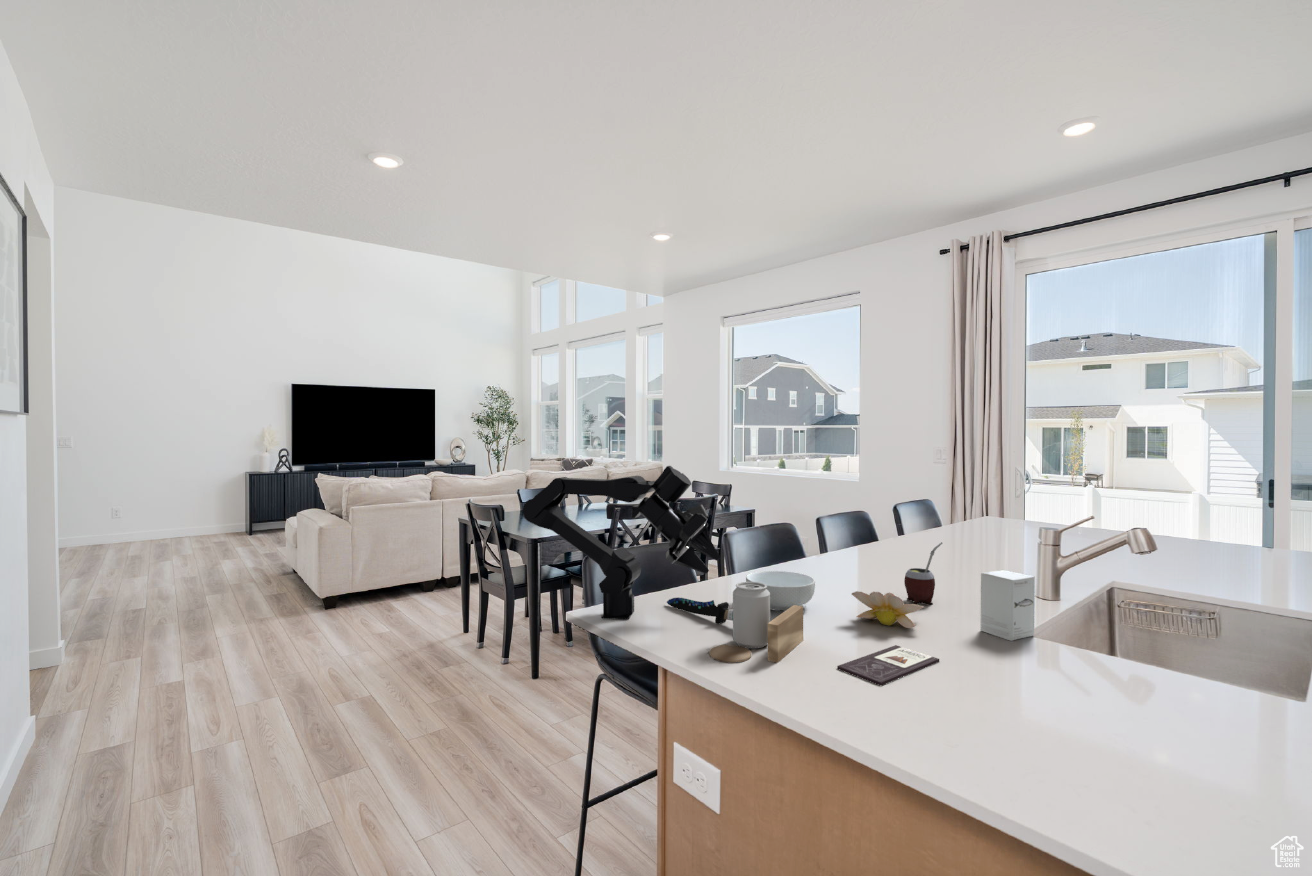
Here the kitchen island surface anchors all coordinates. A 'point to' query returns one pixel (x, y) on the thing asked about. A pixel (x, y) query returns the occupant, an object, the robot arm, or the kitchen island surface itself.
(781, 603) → the cereal bowl
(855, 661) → the chocolate bar
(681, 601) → the knife
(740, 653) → the coaster
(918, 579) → the mate gourd
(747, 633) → the can
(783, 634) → the plinth board
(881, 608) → the decorative flower
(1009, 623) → the supplement box
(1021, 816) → the kitchen island surface
